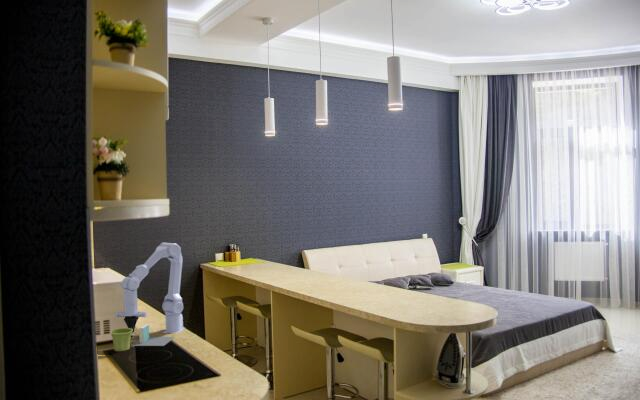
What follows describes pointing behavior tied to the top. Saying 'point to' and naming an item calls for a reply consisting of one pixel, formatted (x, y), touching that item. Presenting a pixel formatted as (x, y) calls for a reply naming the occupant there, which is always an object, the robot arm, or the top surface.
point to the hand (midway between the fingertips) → (131, 332)
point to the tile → (144, 333)
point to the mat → (153, 341)
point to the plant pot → (121, 338)
